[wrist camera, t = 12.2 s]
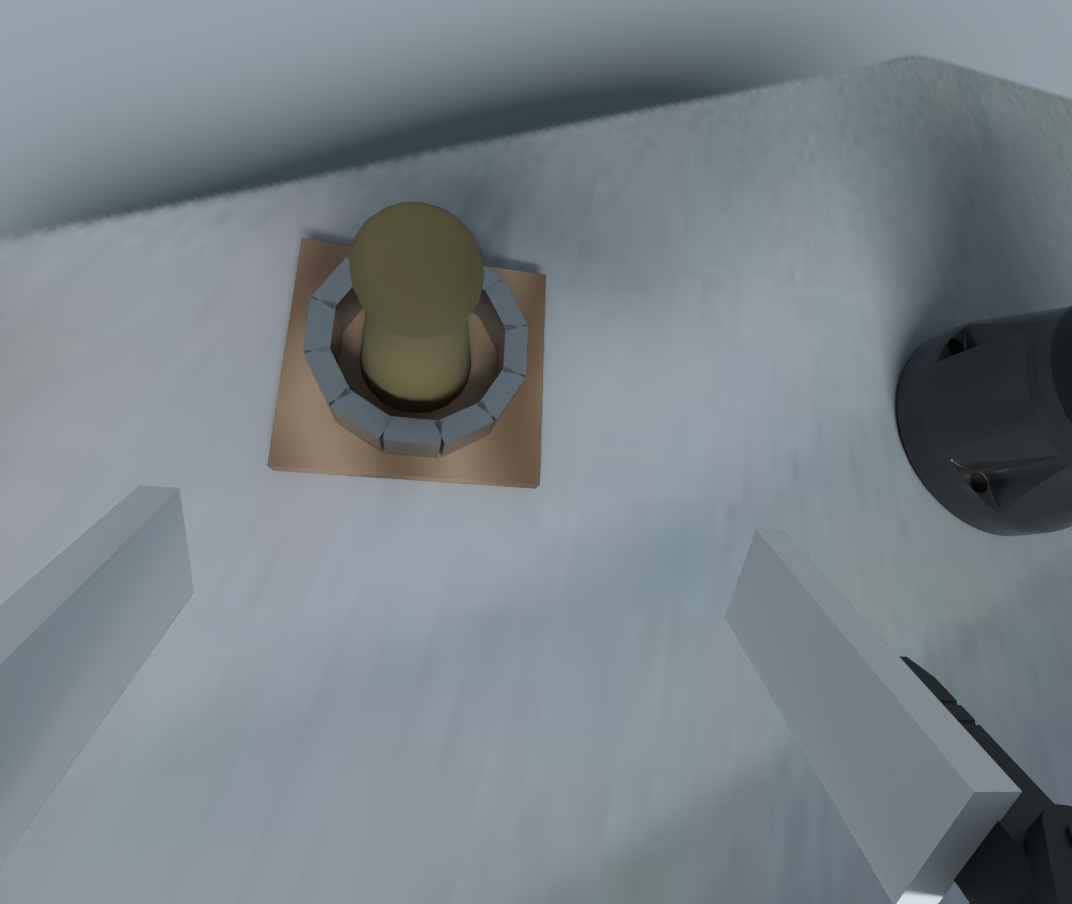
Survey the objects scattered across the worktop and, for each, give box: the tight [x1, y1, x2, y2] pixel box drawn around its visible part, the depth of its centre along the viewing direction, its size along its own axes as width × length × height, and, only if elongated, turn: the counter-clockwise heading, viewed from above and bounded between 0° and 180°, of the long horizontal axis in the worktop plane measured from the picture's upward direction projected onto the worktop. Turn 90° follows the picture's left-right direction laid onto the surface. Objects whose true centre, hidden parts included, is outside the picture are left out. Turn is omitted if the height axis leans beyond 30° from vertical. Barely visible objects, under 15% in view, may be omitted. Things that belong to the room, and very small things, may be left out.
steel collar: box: [303, 258, 528, 458], centre depth 29 cm, size 11×11×3 cm
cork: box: [349, 202, 485, 413], centre depth 26 cm, size 6×6×11 cm
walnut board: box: [268, 238, 546, 488], centre depth 31 cm, size 14×13×1 cm
